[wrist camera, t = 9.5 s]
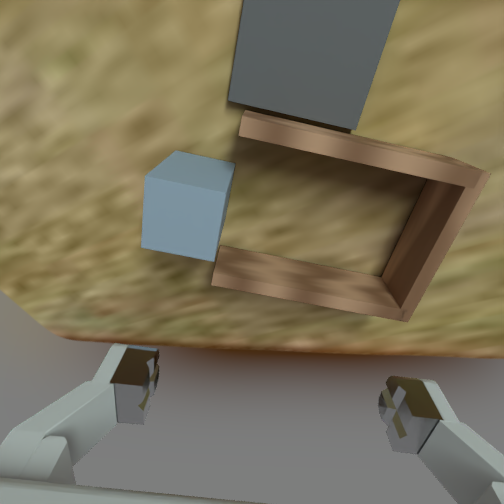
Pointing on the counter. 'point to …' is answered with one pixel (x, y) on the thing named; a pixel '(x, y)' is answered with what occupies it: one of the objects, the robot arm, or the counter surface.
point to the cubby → (406, 251)
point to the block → (186, 205)
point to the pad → (310, 56)
